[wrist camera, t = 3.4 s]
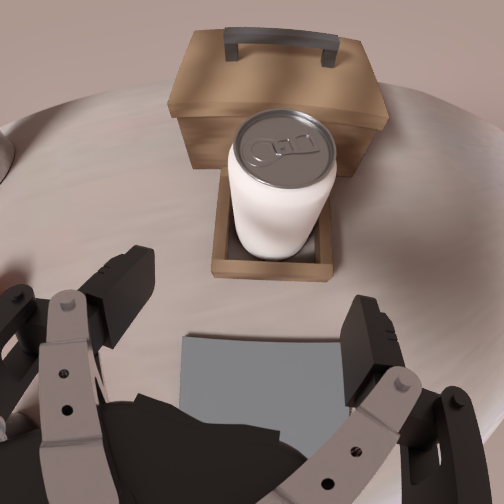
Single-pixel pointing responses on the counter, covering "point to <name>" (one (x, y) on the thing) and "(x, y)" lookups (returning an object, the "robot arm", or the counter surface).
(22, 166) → the counter surface
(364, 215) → the counter surface
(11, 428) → the supplement bottle
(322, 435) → the mat
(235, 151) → the can
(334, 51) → the toolbox
